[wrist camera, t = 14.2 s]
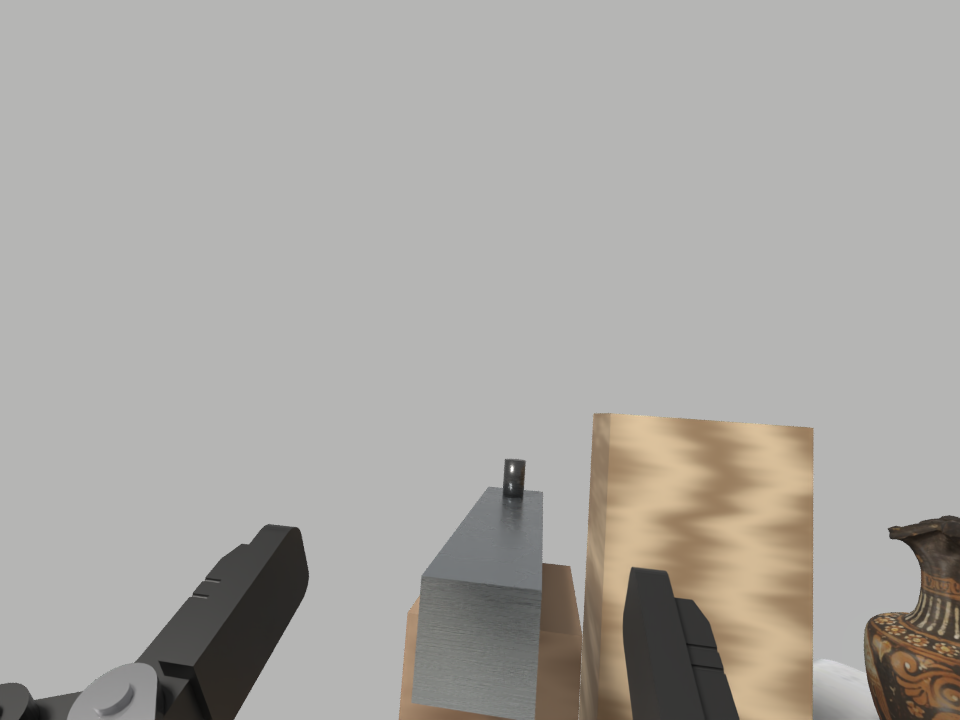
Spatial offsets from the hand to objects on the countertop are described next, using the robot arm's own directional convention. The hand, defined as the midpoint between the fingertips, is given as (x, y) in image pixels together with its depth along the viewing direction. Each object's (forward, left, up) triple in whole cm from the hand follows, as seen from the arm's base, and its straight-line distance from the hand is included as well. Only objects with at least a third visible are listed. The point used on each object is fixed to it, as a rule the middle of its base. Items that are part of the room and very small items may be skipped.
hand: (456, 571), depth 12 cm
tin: (0, -15, -6) cm, 16 cm away
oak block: (-12, -26, -28) cm, 40 cm away
